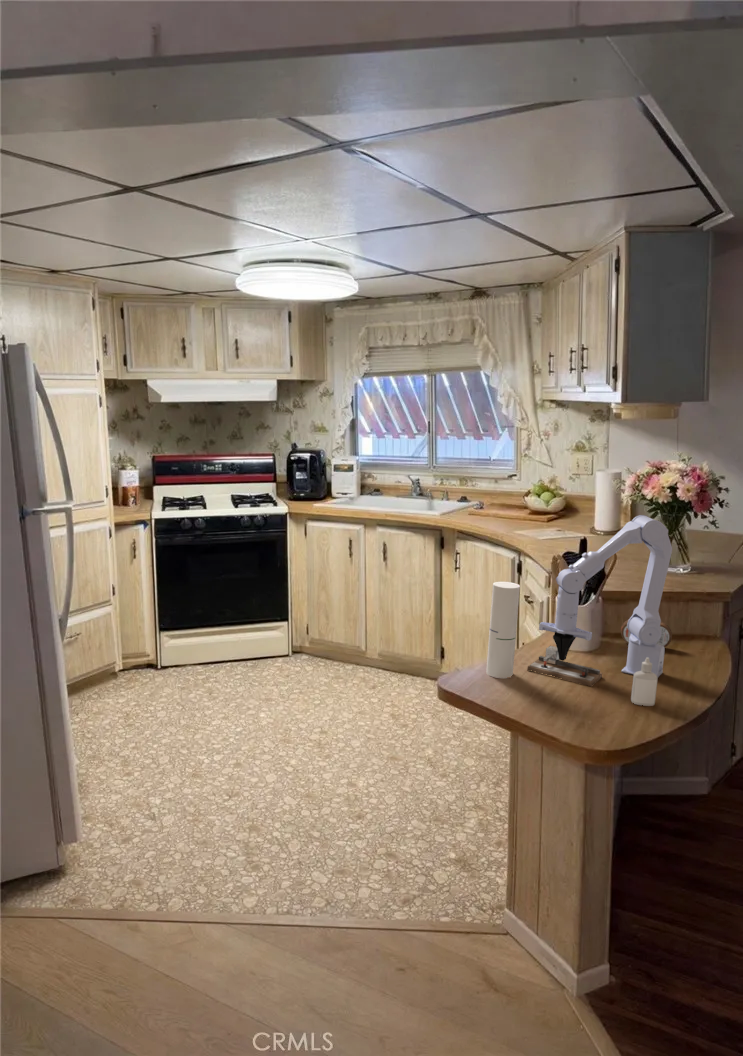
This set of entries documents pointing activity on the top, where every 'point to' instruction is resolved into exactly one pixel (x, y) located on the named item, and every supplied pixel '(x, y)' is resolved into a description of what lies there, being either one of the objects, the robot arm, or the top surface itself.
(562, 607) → the robot arm
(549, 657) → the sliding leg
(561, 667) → the gauge board
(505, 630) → the cylindrical container
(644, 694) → the eye dropper bottle
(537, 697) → the top surface
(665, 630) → the tin
